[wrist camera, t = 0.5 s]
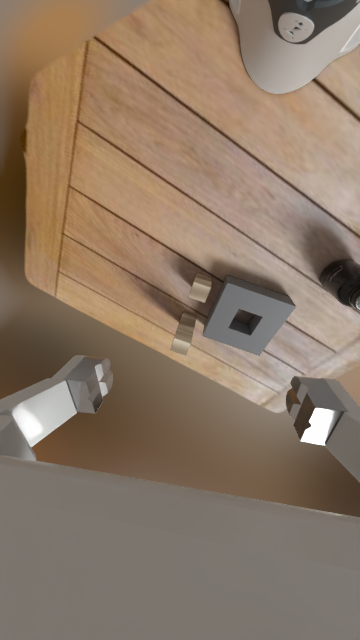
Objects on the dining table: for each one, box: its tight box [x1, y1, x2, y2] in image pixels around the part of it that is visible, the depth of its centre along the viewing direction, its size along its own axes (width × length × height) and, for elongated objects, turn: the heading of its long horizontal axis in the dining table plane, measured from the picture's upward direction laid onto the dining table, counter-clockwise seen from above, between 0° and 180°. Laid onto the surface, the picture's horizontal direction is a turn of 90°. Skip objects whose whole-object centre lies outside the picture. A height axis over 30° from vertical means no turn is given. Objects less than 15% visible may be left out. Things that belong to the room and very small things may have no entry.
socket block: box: [203, 275, 296, 355], centre depth 49 cm, size 16×16×5 cm
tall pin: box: [170, 312, 196, 355], centre depth 50 cm, size 4×4×12 cm
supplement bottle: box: [321, 260, 360, 311], centre depth 37 cm, size 7×7×12 cm
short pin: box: [189, 273, 212, 303], centre depth 46 cm, size 4×4×6 cm
